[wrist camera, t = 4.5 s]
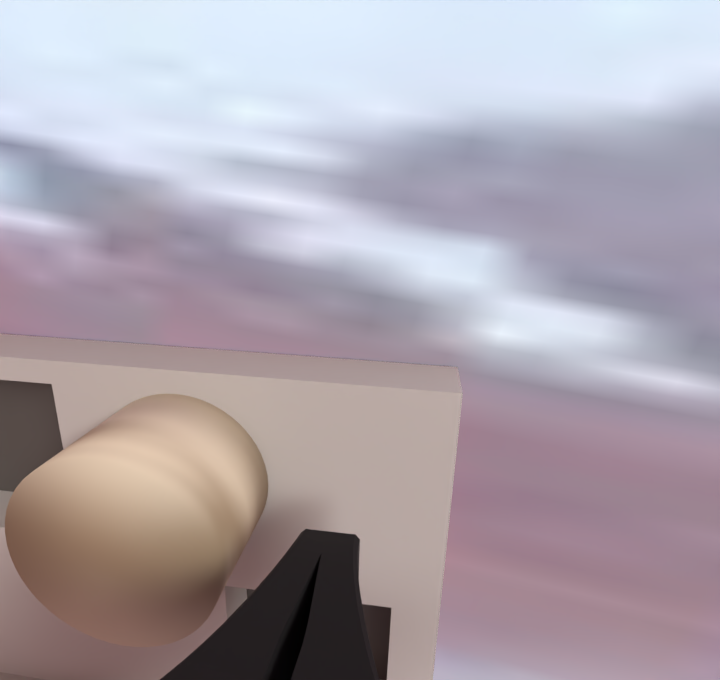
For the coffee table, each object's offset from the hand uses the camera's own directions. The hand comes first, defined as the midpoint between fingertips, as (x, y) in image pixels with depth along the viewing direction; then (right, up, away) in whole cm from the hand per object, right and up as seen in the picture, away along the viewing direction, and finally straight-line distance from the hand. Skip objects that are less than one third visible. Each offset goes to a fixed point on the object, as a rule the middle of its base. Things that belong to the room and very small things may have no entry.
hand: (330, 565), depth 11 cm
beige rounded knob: (-5, +1, +3) cm, 6 cm away
